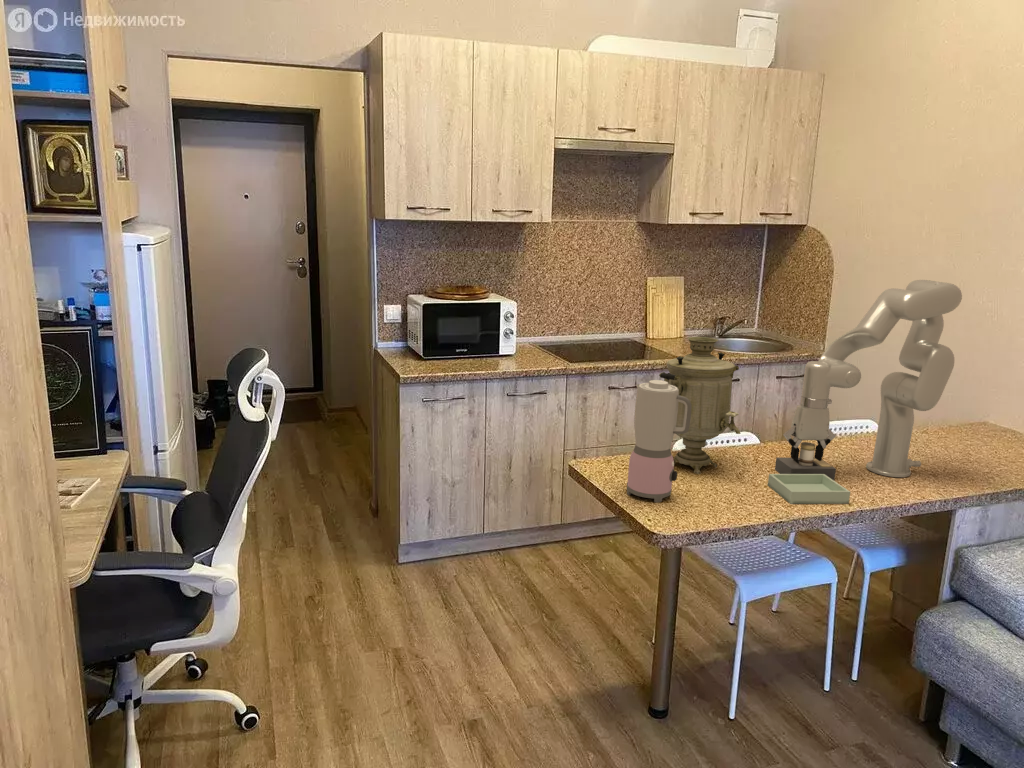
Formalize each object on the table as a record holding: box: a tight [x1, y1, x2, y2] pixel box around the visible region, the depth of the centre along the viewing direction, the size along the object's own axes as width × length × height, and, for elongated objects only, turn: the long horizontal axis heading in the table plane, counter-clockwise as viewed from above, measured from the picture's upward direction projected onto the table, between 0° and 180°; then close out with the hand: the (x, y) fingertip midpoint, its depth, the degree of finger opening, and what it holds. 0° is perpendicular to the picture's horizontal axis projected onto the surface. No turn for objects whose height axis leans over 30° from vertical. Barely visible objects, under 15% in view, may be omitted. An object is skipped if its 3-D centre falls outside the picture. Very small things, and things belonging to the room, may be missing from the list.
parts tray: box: [767, 473, 851, 505], centre depth 209 cm, size 17×14×4 cm
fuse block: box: [774, 456, 837, 481], centre depth 224 cm, size 14×10×4 cm
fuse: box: [798, 441, 816, 466], centre depth 223 cm, size 4×4×10 cm
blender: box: [626, 379, 692, 503], centre depth 200 cm, size 16×12×32 cm
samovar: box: [658, 336, 741, 475], centre depth 222 cm, size 30×26×40 cm
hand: (806, 459), depth 223 cm, fingers open, 6 cm apart
